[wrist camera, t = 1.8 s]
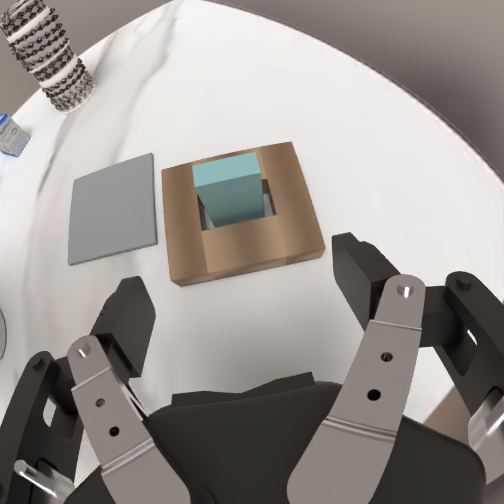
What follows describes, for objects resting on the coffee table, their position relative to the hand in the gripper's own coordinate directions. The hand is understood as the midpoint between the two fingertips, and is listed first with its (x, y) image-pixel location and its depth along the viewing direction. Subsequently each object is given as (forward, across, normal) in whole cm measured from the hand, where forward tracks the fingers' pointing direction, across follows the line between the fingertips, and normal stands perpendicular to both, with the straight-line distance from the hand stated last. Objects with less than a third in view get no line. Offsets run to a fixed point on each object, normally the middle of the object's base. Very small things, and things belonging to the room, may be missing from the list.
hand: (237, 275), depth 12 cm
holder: (+18, 0, +4) cm, 19 cm away
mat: (+22, +15, +1) cm, 26 cm away
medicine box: (+37, +40, -15) cm, 57 cm away
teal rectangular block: (+18, 0, +4) cm, 19 cm away
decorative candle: (+41, +25, -18) cm, 51 cm away
